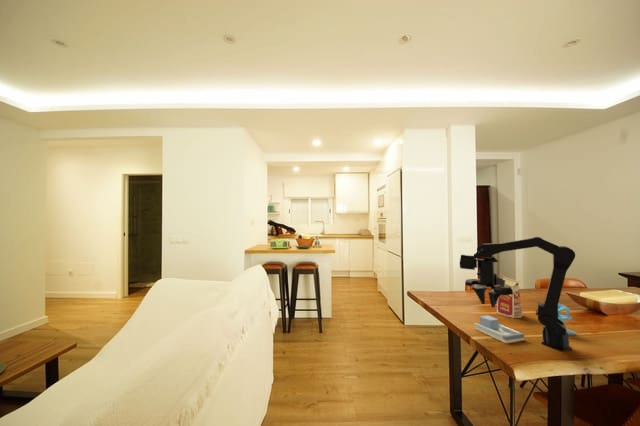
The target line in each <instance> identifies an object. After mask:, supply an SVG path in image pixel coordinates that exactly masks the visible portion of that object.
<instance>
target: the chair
mask: <svg viewBox="0 0 640 426" xmlns="http://www.w3.org/2000/svg"><path fill="white" fill-rule="evenodd" d="M563 311H566V313H565V314H564V315H563V314H561V313H562V312H563ZM570 311H571V309H570V308H569V307H568V306H566V305H565V304H562V303H558V319H560V320H561V321H562V322H563V323H564V324H565V322H566V321H570V320H573V318H572V316H570V315H569V313H570ZM566 330H567V331H566V332H567V333H568V335H571V336H572V335H575V336H577V332H576V331H574V330H573V331H572V330H570V329H568V328H566Z"/></svg>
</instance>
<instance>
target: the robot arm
mask: <svg viewBox="0 0 640 426" xmlns="http://www.w3.org/2000/svg"><path fill="white" fill-rule="evenodd" d="M529 248H539V249H541V250H543V251H544V252H547V253H549V254H551V255H552V271H551V275H550V279H549V283H548V287H547V291H546V295H545V299H544V300H543V302H539V301H538V302H537V308H536V309H535V316H537V319H538V322H539V323H540V324H542V325H543V326H542V328H543V330H542V331H541V332H542V341H541V342H540V343H541V344H543V345H545V346H546V347H550V348H552V349H555V350H557V351H559V352H563V351H569V350H573V347H572V346H570V340H569V334H568V333H567V330H568V329H567V327H566V325H565V322H564V323H563V322H562V321H561V320H560V319H558V309H559V308H558V304H559V302H560V298H561V294H562V290H563V287H564V282H565V278H566V274H567V271H568V270H569V268H570V267H571V266H572V264H573V262H574V260H575V258H576V253H575V251H574V250H573V249H571V248H570V247H568V246H565V245H559V246H558V245H557V244H554V242H553V243H552V242H550V241H547V240H546V239H544V238H542V237H539V236H535V237H532V238H525V239H518V240H512V241H506V242H501V243H500V242H498V243H496V242H495V243H489V242H488V243H483V244H482V243H481V244H480V245H478V246H477V248H476V252H475V253H474V254H473V255H469V254H468V255H467V254H460V259H459V267H460V268H459V269H462V270H463V269H464V270H473V271H475V270H476V269H478V272H477V273H476V275H477V276H478V277H479V279H475V278H469V279H468V278H467V279H466V280H465V283H464V284H465V286H467V287H471V289H472V290H473V291H474V292H475V294H476V296H477V297H478V299H479V301H480V302H481V304H482V305H485V304H486V296H485V295H486V290H487V289H488V290H491V291H489V292H488V297H489V302H490V305H491V308H495V307H496V306H497V301H498V298H499V296H500V295H511V294H513V290H512V289H511V288H510V287H506V286H504V284H505V280H503V279H504V278H500V277H498V274H497V273H495V267H494V266H495V265H494V263H498V262H499V261H500V260H499V259H498V258H496V257H495V256H493V255H497V254H500V253H503V252H510V251H515V250H523V249H529ZM490 256H492V257H490ZM481 257H483V259H482V258H481ZM480 258H481V259H480ZM566 329H567V330H566Z"/></svg>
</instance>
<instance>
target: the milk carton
mask: <svg viewBox="0 0 640 426" xmlns="http://www.w3.org/2000/svg"><path fill="white" fill-rule="evenodd" d="M502 279H503V280H505V284H504V286H506V287H510V288H511V289H512V290H513V294H511V295H500V296H499V298H498V300H497V302H496V314H497V315H501V316H504V317H509V318H513V319H516V318H519V319H520V318H522V317H523V306H522V305H523V304H522V297H521V292H520V291H521V290H520V286H519V283H520V281H519V280H516V279H512V278H510V277H506V276H505V275H503V276H502Z"/></svg>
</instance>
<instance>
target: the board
mask: <svg viewBox="0 0 640 426" xmlns="http://www.w3.org/2000/svg"><path fill="white" fill-rule="evenodd" d="M474 329H475V330H477V331H478V332H481V333H483V334H485V335H488V336H489V337H492V338H494V339H496V340H498V341H500V342H502V343H505V344H510V343H515V342H521V341H525V333H523V332H520V331H519V330H518V331H517V330H515V329H512V328H510V327H507V326H505V325H502V324H500V323H499V330H492V329H491V328H487V327H484V326H482V325H480V323H476V322H475V323H474Z"/></svg>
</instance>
